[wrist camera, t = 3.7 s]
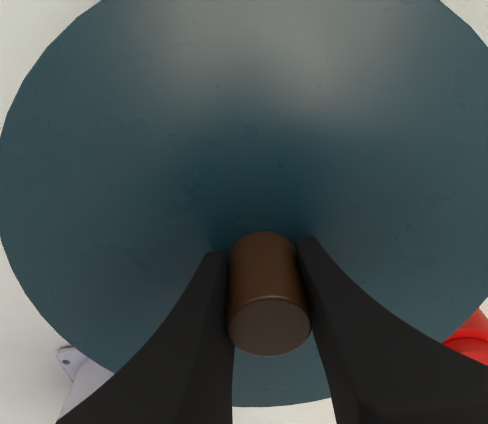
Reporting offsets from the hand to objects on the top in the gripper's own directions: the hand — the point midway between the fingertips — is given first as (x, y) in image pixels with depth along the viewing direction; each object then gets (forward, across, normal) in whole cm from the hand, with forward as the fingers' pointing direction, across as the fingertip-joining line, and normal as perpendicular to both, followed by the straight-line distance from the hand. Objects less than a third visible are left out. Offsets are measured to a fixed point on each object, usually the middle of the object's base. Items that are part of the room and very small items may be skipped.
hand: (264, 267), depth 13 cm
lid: (+1, 0, 0) cm, 1 cm away
